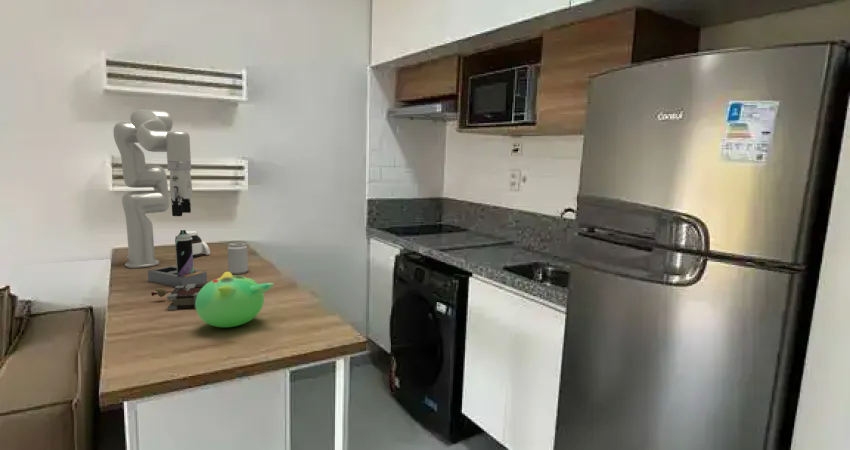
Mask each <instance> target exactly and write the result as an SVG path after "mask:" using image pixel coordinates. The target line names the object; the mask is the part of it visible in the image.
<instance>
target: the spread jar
mask: <svg viewBox="0 0 850 450" xmlns="http://www.w3.org/2000/svg"><path fill="white" fill-rule="evenodd" d="M186 233H187V234H188V235H190V236H191V238H192V251H193V259H195V258H198V257H199V256H201V255H202V254H204V255H205V256H208V255H210V254H211V250H210V247H209V246H208V244H207V243H206V241H204V240H202V238H201V237H200V236H199V235H198V231H196V230H186Z"/></svg>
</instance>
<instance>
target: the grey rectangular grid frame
mask: <svg viewBox="0 0 850 450" xmlns="http://www.w3.org/2000/svg"><path fill="white" fill-rule="evenodd" d="M147 280H148V282H149V283H150V282H151V283H155V284H160V285H164V286H170V287H174V288H175V287H176V286H178V285H187V284H207V283H208V276H207V271H203V270H198V269H197V270H196V269H194V273H191V274H187V275H183V276H181V275H177V265H169V266H166V267H159V268H154V269H149V270H147Z"/></svg>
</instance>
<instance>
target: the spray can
mask: <svg viewBox="0 0 850 450" xmlns="http://www.w3.org/2000/svg"><path fill="white" fill-rule="evenodd" d="M186 231H187V230H186V229H183V230H181V229H180V232H179V233H178V234H177V236H176V235H175V240H174V243H175V244H174V245H175V257H176V258H175V259H176V266H177V275H181V276H183V275H187V274H191V273H194V270H195V269H194V258H193V251H192V238H191V236H190V235H188V234H187V233H186Z"/></svg>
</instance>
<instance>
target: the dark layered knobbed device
mask: <svg viewBox="0 0 850 450" xmlns="http://www.w3.org/2000/svg"><path fill="white" fill-rule="evenodd" d="M206 284H207V283H203V284H187V285H178V286H176V287H174V289H173V291H172V290H171V291H166V289H165V288H163V287H158V288H157V287H156V288H155V291H156V292H154V291H151V297H154V296H156V295H157V296H159V297H161V298H162V297H165V296H166V295H167V294H168V295H167V296H166V300H167V301H169V300H170V301H172V303H170V304H169V305H168V306H167V311H174V310H175V311H176V310H179V309H181V310H182V309H194V310H196V306H195V302H196V297H197V295H198V293H199V291H200V290H201V289H202V288H203V286H205V285H206Z"/></svg>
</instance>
